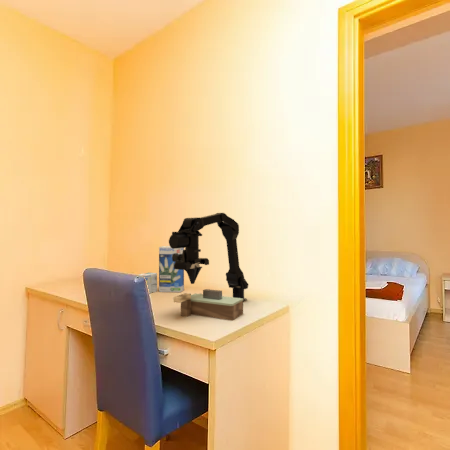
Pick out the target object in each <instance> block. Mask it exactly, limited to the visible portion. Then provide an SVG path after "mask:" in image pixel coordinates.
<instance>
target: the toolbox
mask: <svg viewBox="0 0 450 450" xmlns="http://www.w3.org/2000/svg"><path fill="white" fill-rule="evenodd" d="M243 314H244V301H241V302H239V303H237V304H235V305H234V306H227V305H219V304H211V303H202V302H194V301H191V300H190V299H189V300H186V301H183V302H181V303H180V317H190V316H192V315H195V316H202V317H208V318H216V319H223V320H228V321H229V320H230V321H233V320H236V319H237V318H239V317H240V316H242V315H243Z"/></svg>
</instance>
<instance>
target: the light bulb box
mask: <svg viewBox="0 0 450 450" xmlns="http://www.w3.org/2000/svg"><path fill="white" fill-rule="evenodd" d="M138 275H139V276H143V277H145V279H146V281H147V285H148V289H149V292H150V293H149V294H152V292H153V293H156V291H157V292H158V273H157V272H151V271H150V272H144V273H140V274H138Z"/></svg>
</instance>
